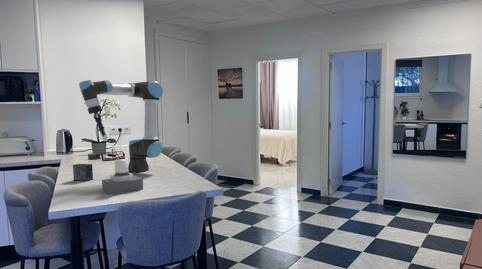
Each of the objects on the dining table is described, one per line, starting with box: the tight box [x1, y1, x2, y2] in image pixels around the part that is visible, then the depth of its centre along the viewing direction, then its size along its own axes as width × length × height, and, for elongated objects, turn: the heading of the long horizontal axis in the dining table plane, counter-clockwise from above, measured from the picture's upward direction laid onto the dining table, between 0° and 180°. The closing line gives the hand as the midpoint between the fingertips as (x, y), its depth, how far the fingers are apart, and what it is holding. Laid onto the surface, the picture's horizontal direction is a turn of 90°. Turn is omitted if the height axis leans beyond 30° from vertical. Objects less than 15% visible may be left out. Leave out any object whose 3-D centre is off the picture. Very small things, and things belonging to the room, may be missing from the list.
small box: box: [72, 163, 94, 182], centre depth 225 cm, size 11×6×10 cm, turn 74°
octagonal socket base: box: [101, 172, 144, 196], centre depth 196 cm, size 18×14×8 cm
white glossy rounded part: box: [114, 158, 130, 177], centre depth 195 cm, size 7×7×11 cm
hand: (105, 139), depth 210 cm, fingers open, 13 cm apart
